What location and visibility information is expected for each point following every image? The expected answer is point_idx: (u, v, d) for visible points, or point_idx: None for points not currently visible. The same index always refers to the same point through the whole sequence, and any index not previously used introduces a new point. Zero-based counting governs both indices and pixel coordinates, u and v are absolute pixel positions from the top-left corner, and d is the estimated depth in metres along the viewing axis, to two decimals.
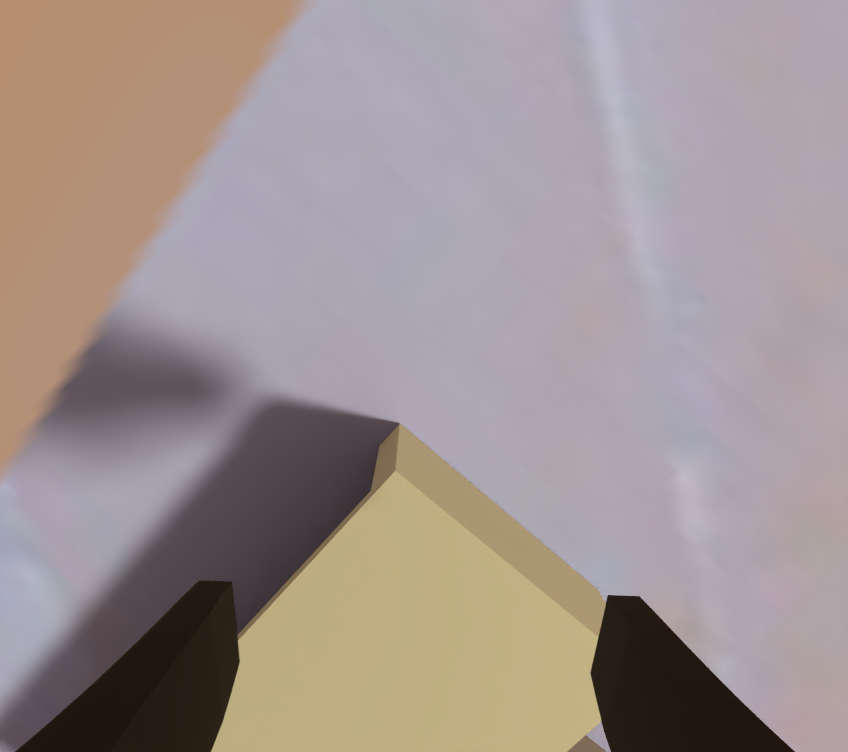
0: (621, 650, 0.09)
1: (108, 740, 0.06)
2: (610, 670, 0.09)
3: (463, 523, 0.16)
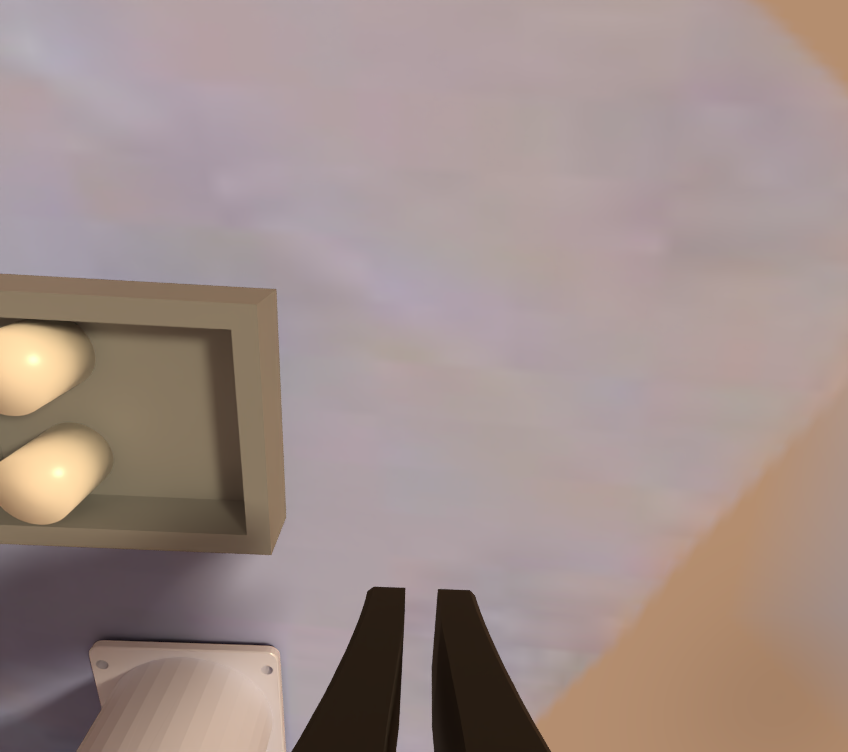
0: (438, 644, 0.09)
1: (375, 748, 0.06)
2: (435, 664, 0.09)
3: None
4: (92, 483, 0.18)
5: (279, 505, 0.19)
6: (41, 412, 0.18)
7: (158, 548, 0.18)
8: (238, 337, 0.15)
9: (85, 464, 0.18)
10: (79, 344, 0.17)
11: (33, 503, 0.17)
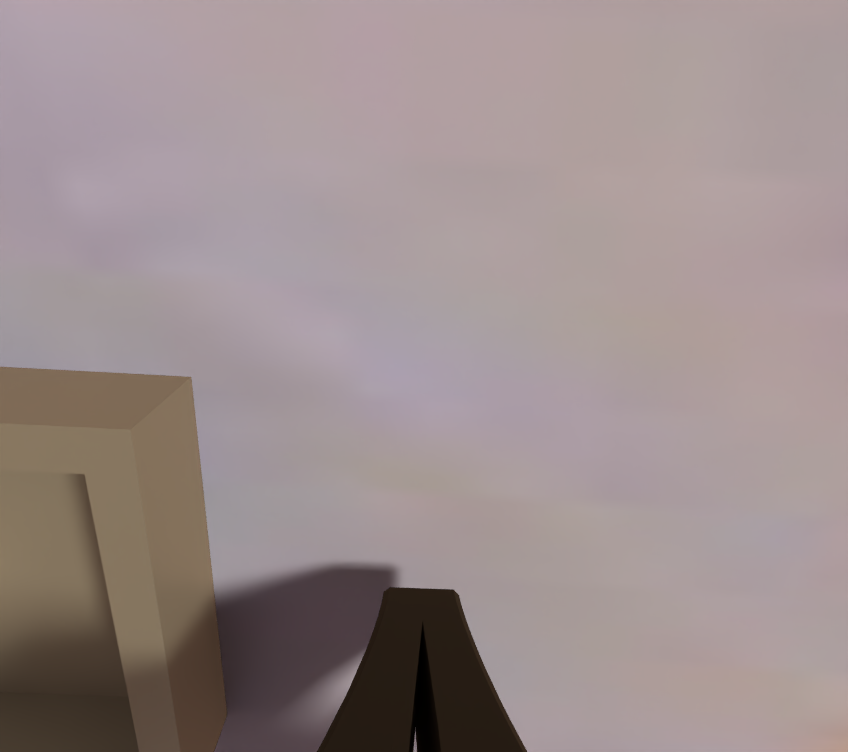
0: None
1: (400, 748, 0.06)
2: None
3: None
4: None
5: (209, 717, 0.12)
6: None
7: None
8: (100, 487, 0.08)
9: None
10: None
11: None
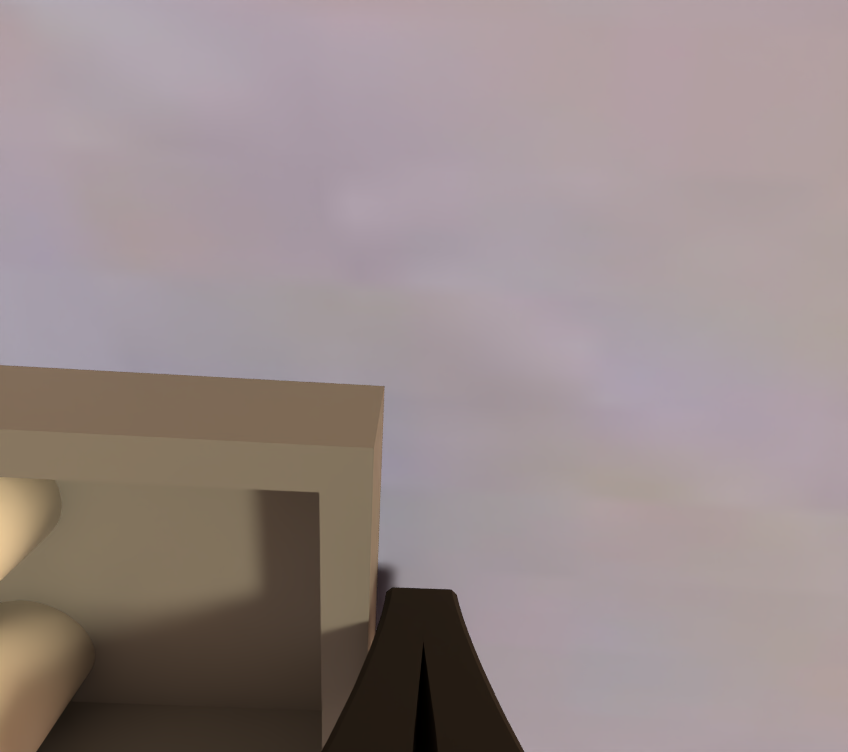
0: None
1: (405, 749, 0.06)
2: None
3: None
4: (56, 716, 0.10)
5: None
6: None
7: None
8: (332, 506, 0.08)
9: (43, 690, 0.10)
10: (30, 489, 0.09)
11: None
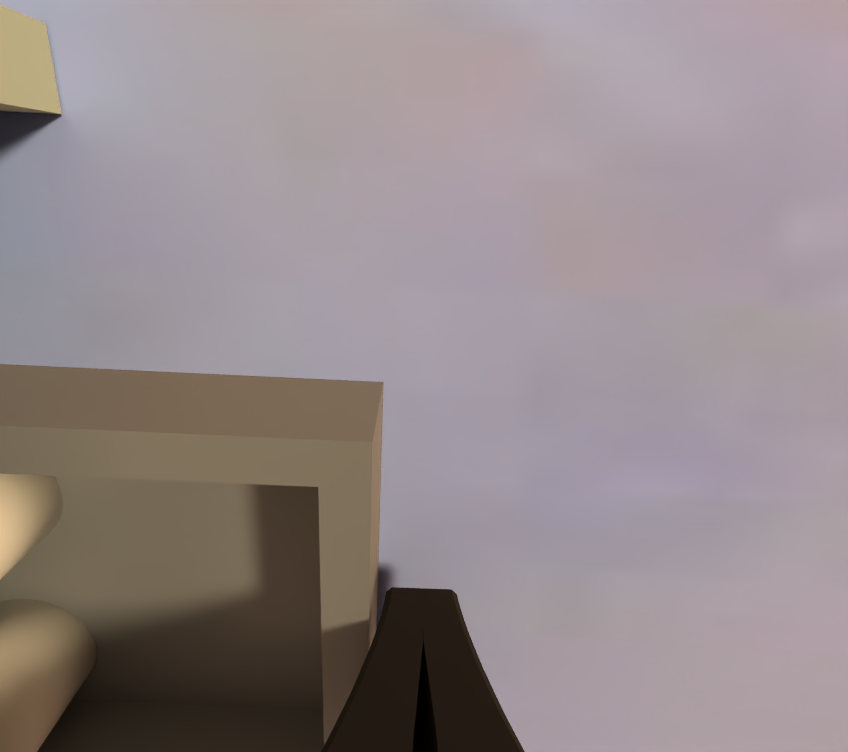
0: None
1: (404, 749, 0.06)
2: None
3: None
4: (58, 713, 0.10)
5: None
6: None
7: None
8: (331, 500, 0.08)
9: (45, 688, 0.10)
10: (31, 487, 0.09)
11: None
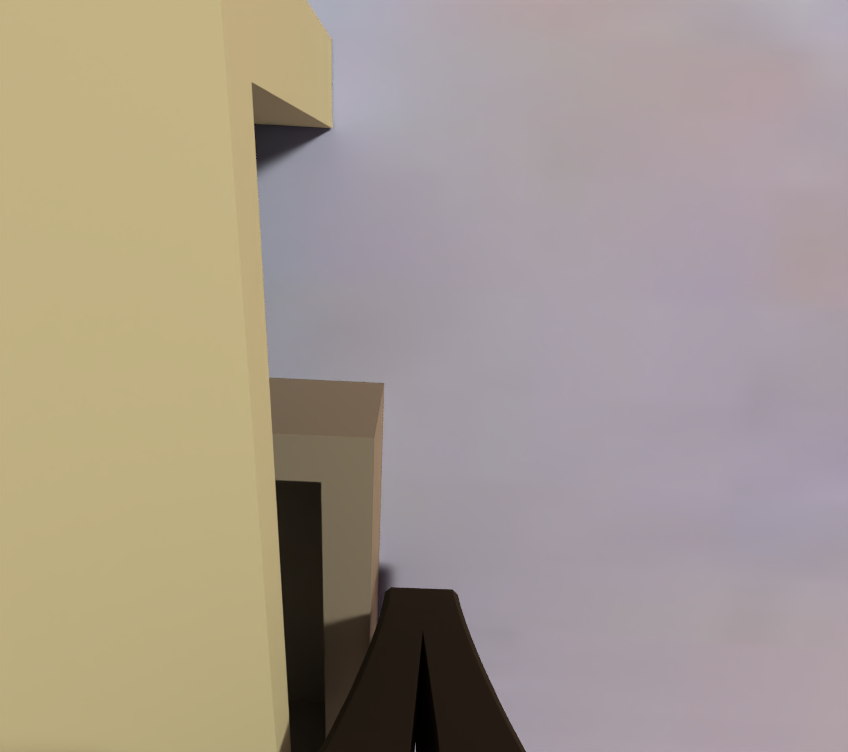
0: None
1: (402, 749, 0.06)
2: None
3: None
4: None
5: None
6: None
7: None
8: (334, 495, 0.08)
9: None
10: None
11: None
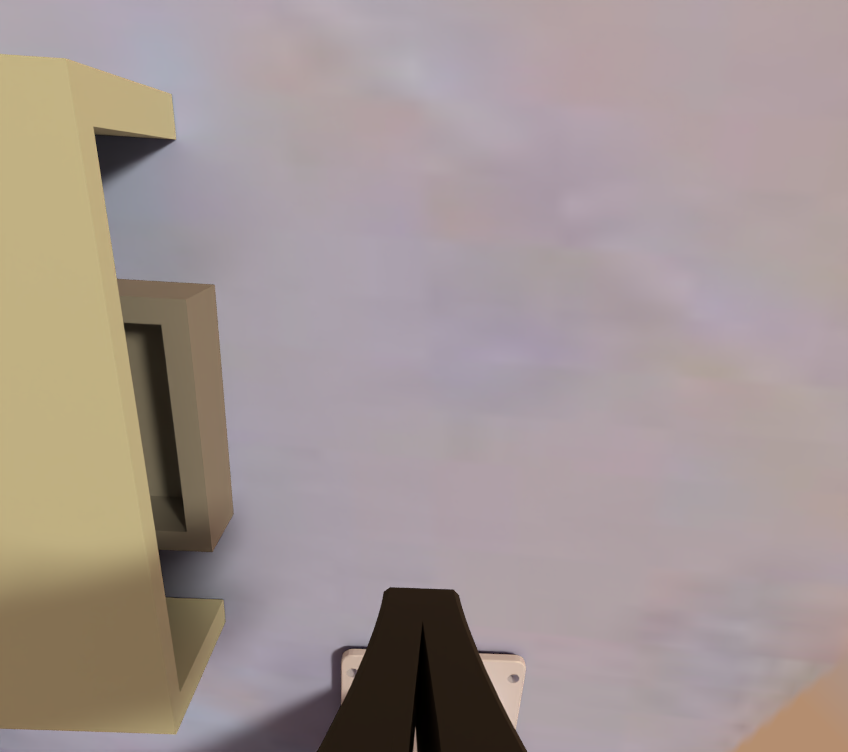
0: None
1: (401, 749, 0.06)
2: None
3: None
4: None
5: (223, 502, 0.19)
6: None
7: None
8: (169, 332, 0.15)
9: None
10: None
11: None
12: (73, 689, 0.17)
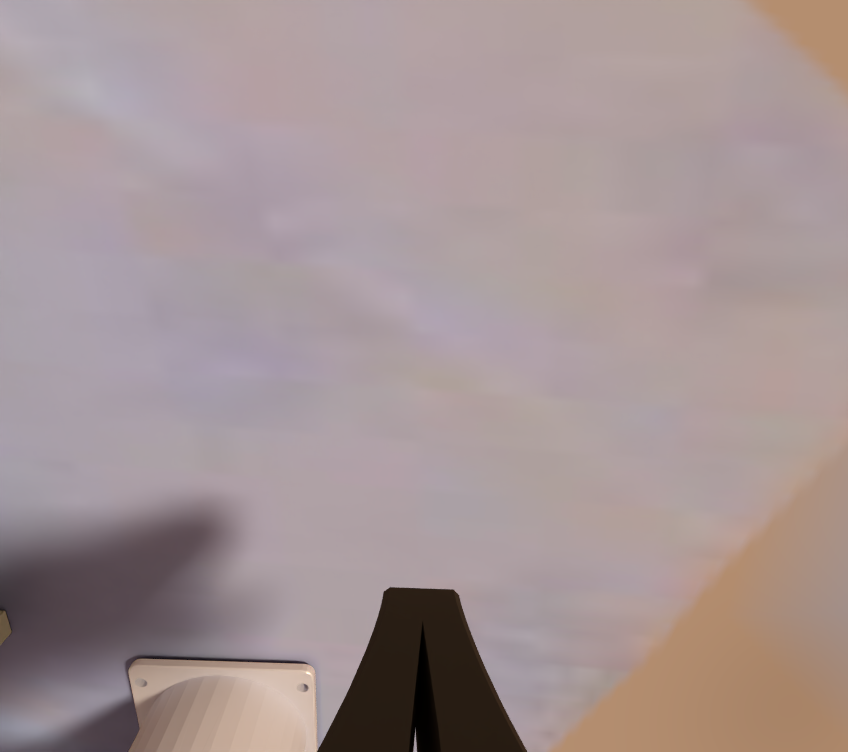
0: None
1: (401, 749, 0.06)
2: None
3: None
4: None
5: None
6: None
7: None
8: None
9: None
10: None
11: None
12: None
